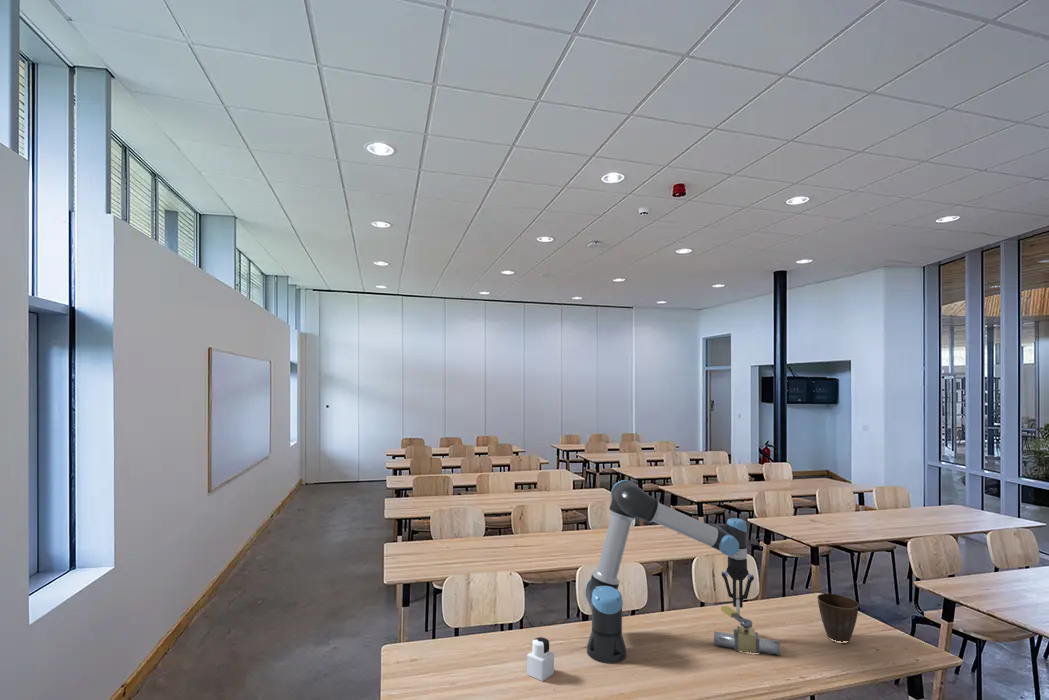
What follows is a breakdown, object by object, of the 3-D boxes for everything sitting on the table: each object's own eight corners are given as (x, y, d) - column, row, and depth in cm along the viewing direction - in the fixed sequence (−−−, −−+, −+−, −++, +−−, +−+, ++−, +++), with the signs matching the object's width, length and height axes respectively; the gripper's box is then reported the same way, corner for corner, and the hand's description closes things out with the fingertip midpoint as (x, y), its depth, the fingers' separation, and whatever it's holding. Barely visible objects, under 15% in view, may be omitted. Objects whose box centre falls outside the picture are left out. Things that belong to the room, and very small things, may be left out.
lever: (754, 627, 215) (754, 623, 215) (744, 628, 214) (744, 624, 214) (728, 609, 231) (728, 605, 231) (719, 610, 230) (719, 606, 230)
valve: (714, 648, 216) (714, 624, 217) (714, 640, 223) (714, 617, 223) (780, 659, 209) (780, 634, 209) (778, 650, 215) (778, 627, 216)
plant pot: (859, 652, 215) (858, 611, 216) (816, 642, 223) (816, 602, 224) (859, 637, 228) (858, 598, 229) (818, 628, 236) (818, 590, 236)
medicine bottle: (538, 666, 200) (539, 633, 201) (554, 673, 196) (554, 639, 196) (526, 674, 195) (527, 640, 195) (542, 682, 190) (542, 646, 191)
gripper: (721, 558, 226) (721, 616, 224) (754, 561, 222) (755, 620, 220) (720, 552, 233) (721, 609, 231) (753, 556, 229) (753, 613, 228)
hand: (737, 614), depth 226 cm, fingers closed
